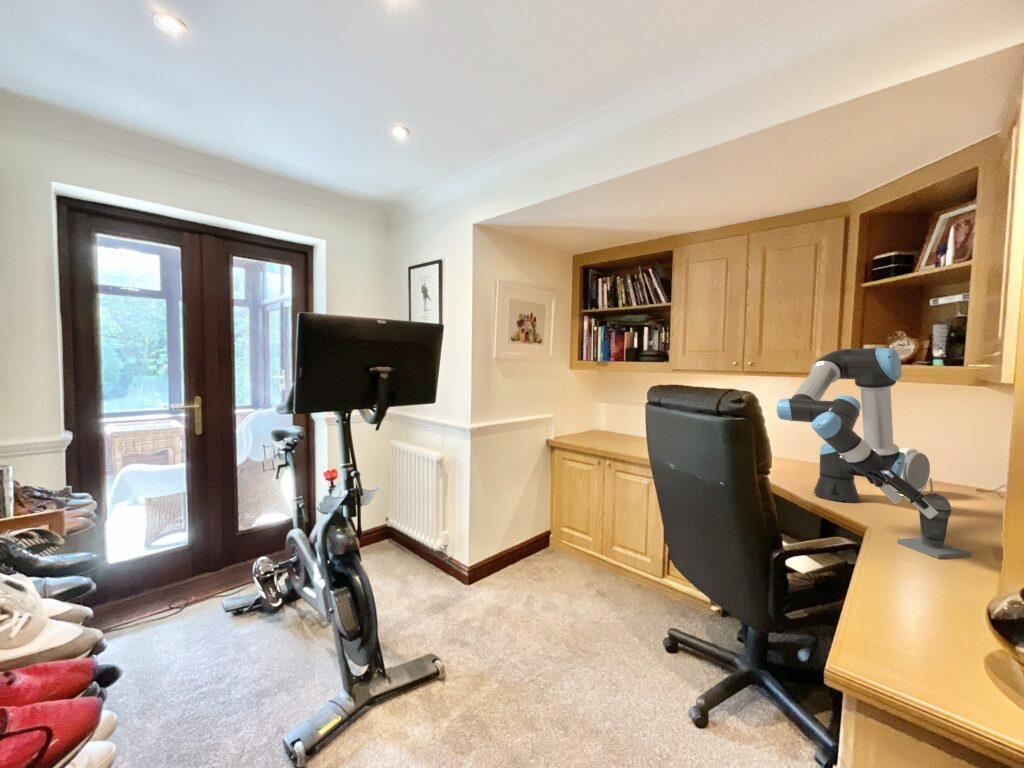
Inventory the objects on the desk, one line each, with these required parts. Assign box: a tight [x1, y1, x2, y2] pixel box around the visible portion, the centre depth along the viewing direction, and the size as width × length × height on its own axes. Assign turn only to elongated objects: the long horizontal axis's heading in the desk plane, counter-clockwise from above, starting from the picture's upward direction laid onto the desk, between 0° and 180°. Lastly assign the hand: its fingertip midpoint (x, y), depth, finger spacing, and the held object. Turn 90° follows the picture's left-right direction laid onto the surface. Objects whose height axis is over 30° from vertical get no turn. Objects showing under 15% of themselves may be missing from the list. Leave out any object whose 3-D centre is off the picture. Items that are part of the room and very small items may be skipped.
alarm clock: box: [891, 447, 931, 494], centre depth 181 cm, size 18×8×20 cm, turn 110°
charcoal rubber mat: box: [896, 537, 972, 559], centre depth 124 cm, size 11×11×1 cm
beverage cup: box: [917, 477, 953, 549], centre depth 124 cm, size 7×7×20 cm
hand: (915, 508), depth 124 cm, fingers open, 13 cm apart
